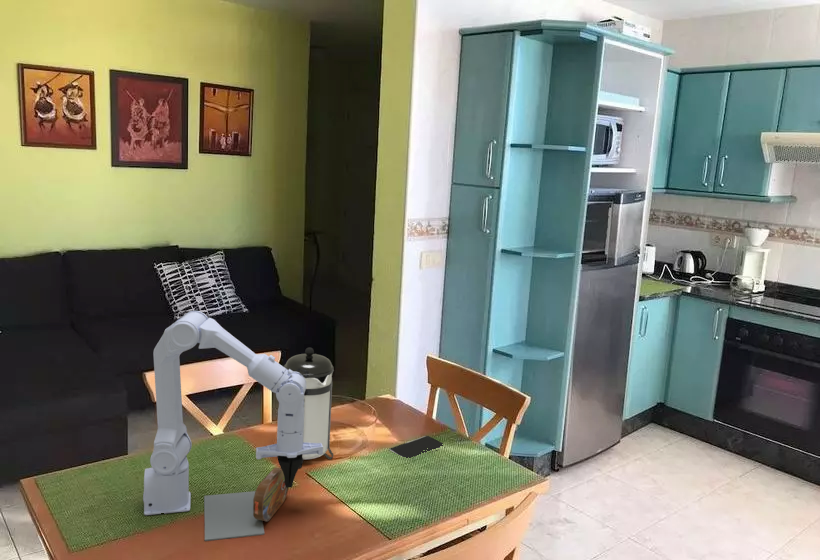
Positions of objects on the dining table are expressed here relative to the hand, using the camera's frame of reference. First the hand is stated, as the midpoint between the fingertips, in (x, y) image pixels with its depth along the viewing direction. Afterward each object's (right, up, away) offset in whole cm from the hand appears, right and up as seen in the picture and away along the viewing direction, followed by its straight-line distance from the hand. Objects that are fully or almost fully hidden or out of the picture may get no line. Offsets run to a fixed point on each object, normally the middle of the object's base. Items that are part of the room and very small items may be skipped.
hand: (288, 485), depth 147 cm
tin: (-4, -6, 0) cm, 7 cm away
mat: (-12, -6, -3) cm, 13 cm away
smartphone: (+29, -2, +37) cm, 47 cm away
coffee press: (-2, -1, +29) cm, 29 cm away
